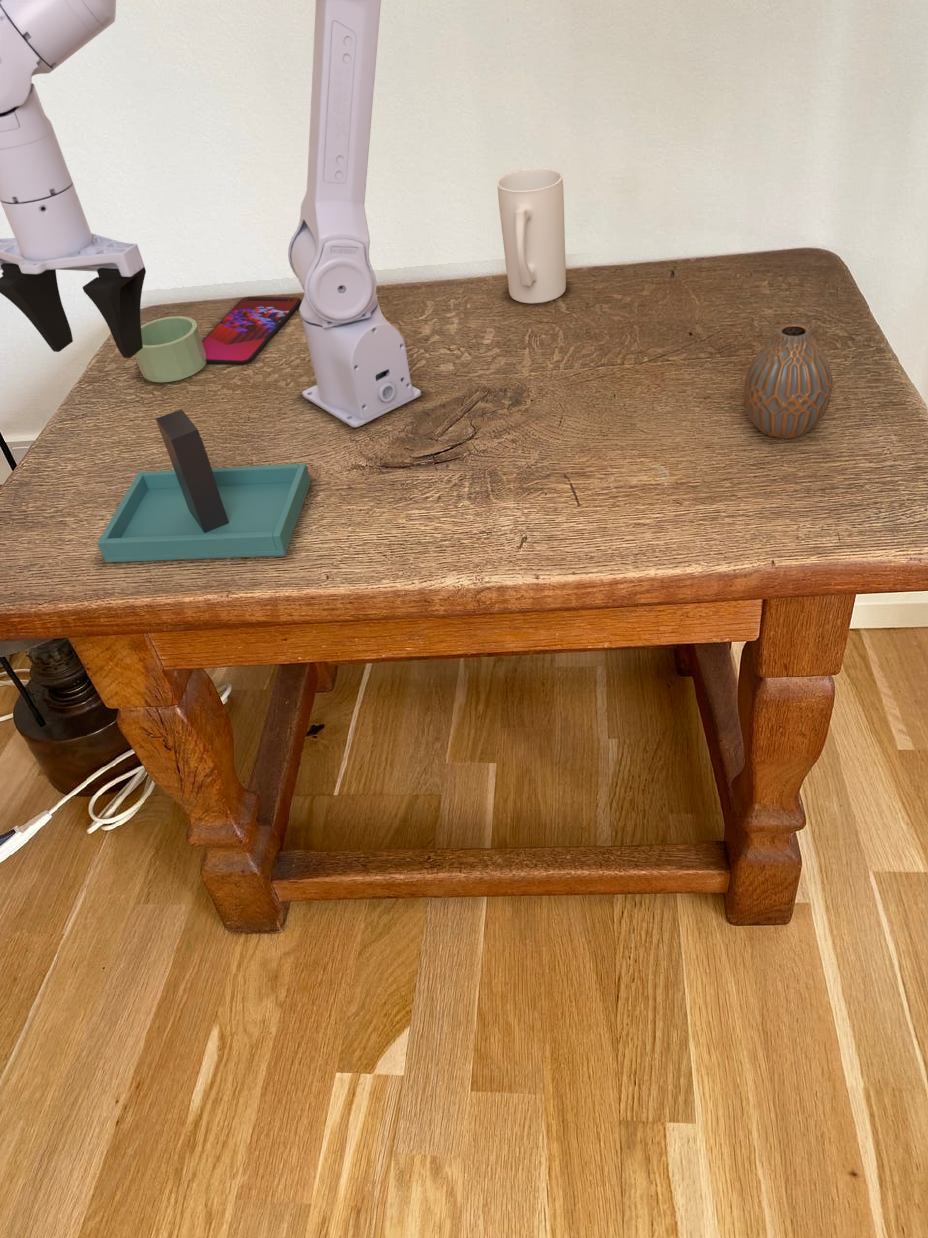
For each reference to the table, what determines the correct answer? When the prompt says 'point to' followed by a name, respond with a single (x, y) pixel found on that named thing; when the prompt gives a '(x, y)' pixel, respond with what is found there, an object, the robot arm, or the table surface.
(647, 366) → the table surface
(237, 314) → the smartphone
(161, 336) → the cup
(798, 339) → the vase
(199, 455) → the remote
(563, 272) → the mug
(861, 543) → the table surface
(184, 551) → the tray
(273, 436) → the table surface
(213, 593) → the table surface
